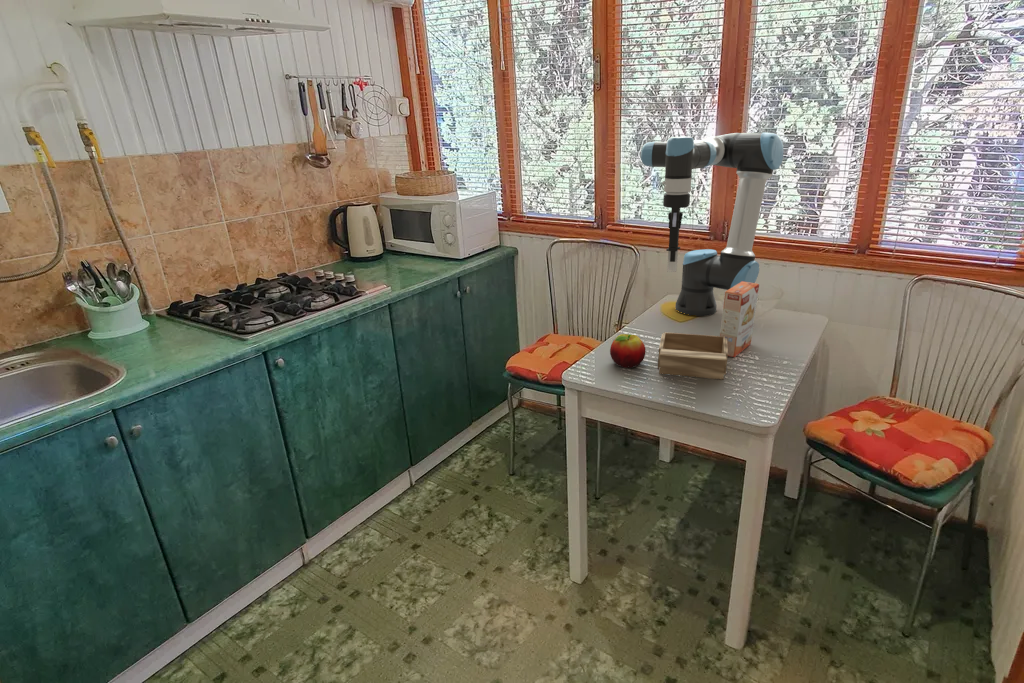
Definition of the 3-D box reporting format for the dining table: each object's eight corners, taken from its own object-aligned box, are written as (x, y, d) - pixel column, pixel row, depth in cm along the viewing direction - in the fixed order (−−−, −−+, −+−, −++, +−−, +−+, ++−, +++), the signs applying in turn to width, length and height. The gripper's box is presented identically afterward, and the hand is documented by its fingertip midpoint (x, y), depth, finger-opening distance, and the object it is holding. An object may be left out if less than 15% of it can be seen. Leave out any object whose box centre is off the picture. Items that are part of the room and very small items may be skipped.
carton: (661, 354, 181) (662, 331, 178) (724, 359, 175) (726, 335, 172) (657, 373, 168) (658, 349, 165) (725, 380, 163) (728, 354, 160)
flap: (659, 353, 158) (659, 355, 158) (726, 359, 153) (726, 360, 153) (661, 348, 164) (661, 350, 164) (725, 353, 159) (725, 355, 159)
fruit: (652, 366, 174) (654, 335, 170) (625, 374, 169) (626, 343, 165) (629, 354, 182) (630, 325, 179) (602, 362, 178) (603, 332, 174)
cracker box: (735, 358, 176) (743, 294, 168) (716, 354, 180) (723, 291, 172) (752, 344, 186) (760, 283, 178) (734, 340, 189) (741, 280, 182)
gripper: (665, 189, 173) (661, 265, 182) (662, 196, 161) (657, 276, 170) (691, 189, 170) (685, 266, 179) (689, 196, 159) (683, 277, 168)
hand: (671, 271), depth 175 cm, fingers closed
